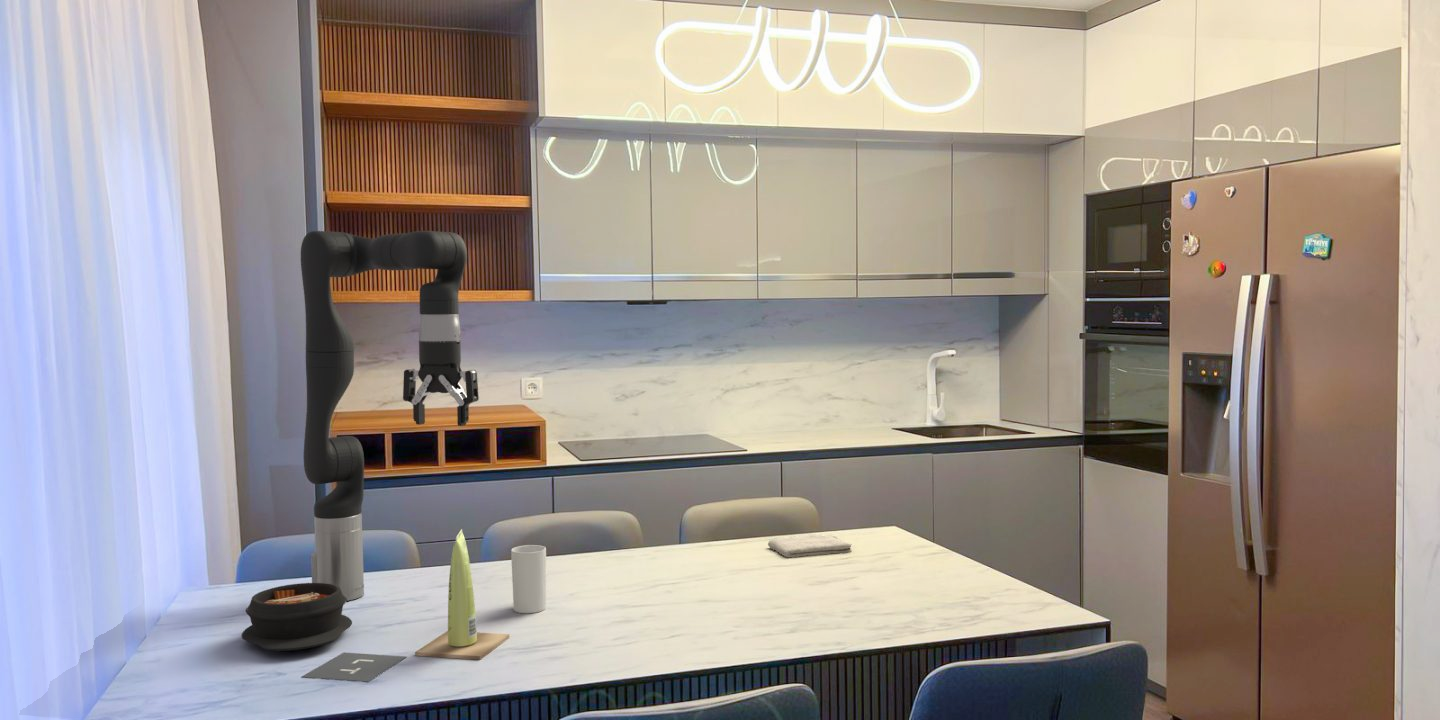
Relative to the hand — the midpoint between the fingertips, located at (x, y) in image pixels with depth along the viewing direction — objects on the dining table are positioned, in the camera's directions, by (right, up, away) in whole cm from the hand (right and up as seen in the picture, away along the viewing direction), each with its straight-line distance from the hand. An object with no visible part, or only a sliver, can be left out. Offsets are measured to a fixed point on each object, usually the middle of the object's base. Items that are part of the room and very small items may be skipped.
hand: (441, 424), depth 194 cm
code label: (-8, -39, -23) cm, 46 cm away
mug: (+15, -37, +11) cm, 41 cm away
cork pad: (+7, -38, -13) cm, 41 cm away
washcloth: (+74, -35, +57) cm, 100 cm away
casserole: (-24, -39, -7) cm, 46 cm away
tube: (+7, -38, -13) cm, 40 cm away
